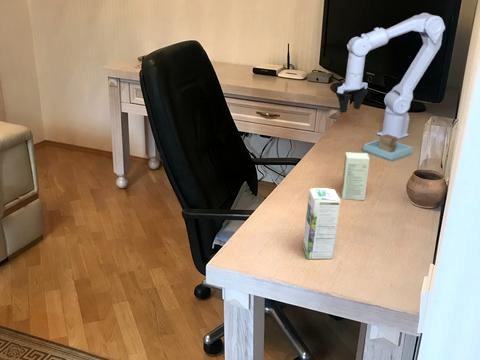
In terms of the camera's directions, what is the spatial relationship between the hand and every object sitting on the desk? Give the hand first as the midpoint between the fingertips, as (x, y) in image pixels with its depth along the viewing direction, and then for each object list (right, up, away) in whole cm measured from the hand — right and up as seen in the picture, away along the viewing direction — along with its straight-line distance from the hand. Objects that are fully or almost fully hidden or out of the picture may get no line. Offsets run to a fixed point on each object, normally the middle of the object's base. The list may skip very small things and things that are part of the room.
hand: (349, 110), depth 190 cm
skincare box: (-9, -30, -45) cm, 55 cm away
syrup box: (-22, -41, -73) cm, 87 cm away
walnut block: (+10, -15, -12) cm, 22 cm away
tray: (+10, -16, -12) cm, 22 cm away
